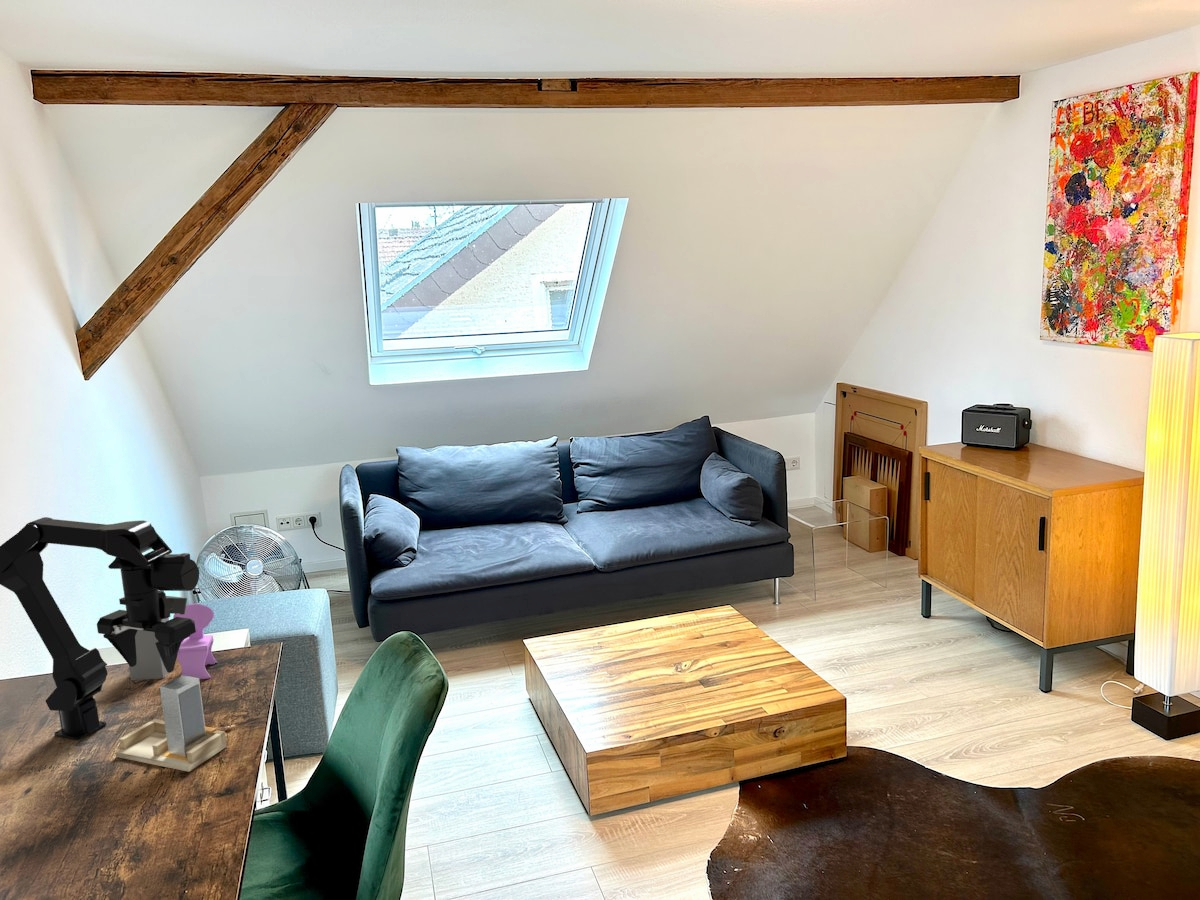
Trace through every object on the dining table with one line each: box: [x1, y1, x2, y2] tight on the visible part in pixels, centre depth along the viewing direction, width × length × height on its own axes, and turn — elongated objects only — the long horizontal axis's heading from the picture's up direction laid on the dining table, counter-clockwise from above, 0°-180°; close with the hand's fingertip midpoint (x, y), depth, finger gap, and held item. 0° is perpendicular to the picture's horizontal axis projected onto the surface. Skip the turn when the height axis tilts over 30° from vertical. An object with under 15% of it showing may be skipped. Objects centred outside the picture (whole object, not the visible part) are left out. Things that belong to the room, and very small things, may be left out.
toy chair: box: [172, 603, 218, 680], centre depth 199 cm, size 8×9×15 cm
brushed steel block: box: [159, 675, 207, 758], centre depth 163 cm, size 4×5×13 cm
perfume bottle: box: [128, 617, 170, 681], centre depth 200 cm, size 7×7×18 cm
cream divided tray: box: [115, 718, 227, 772], centre depth 166 cm, size 9×17×3 cm, turn 69°
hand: (151, 668), depth 171 cm, fingers open, 9 cm apart
